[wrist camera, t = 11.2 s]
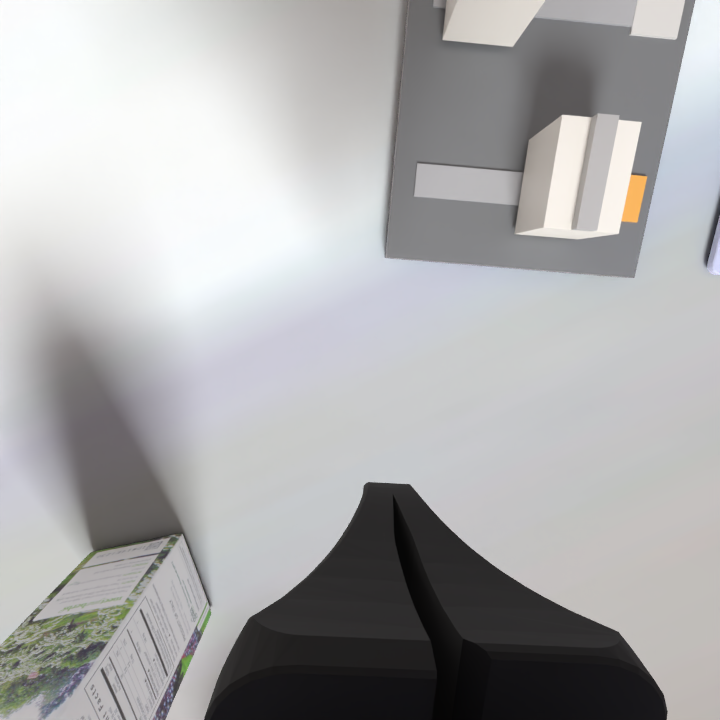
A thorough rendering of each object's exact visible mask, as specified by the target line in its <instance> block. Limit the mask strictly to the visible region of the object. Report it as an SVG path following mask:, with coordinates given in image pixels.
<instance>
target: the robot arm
mask: <svg viewBox="0 0 720 720" xmlns="http://www.w3.org/2000/svg"><path fill="white" fill-rule="evenodd" d="M707 268H708V271H709V272H710V273H711V274H715V275H720V216H719V220H718V224H717V228H716V232H715V236H714V240H713V244H712V248H711V252H710V255H709V259H708V263H707ZM204 720H667V707H666V703H665V699H664V695H663V693H662V691H661V690H660V688H659V687H658V685H657V684H656V682H655V680H654V679H653V678H652V676H651V675H650V673H649V672H648V671H647V669H646V668H645V666H644V665H643V664H642V662H641V661H640V659H639V658H638V657H637V655H636V654H635V653H634V651H633V650H632V649H631V647H630V646H629V645H628V643H627V642H626V641H625V639H624V638H623V637H622V636H621V635H620V633H619V632H617V631H615V630H613V629H611V628H608V627H606V626H604V625H601V624H599V623H597V622H595V621H592V620H590V619H588V618H586V617H583V616H581V615H579V614H576V613H574V612H572V611H570V610H568V609H566V608H564V607H562V606H560V605H558V604H556V603H554V602H552V601H550V600H549V599H547V598H545V597H543V596H541V595H539V594H537V593H536V592H534V591H532V590H530V589H529V588H527V587H525V586H524V585H522V584H521V583H519V582H517V581H516V580H514V579H513V578H511V577H510V576H508V575H506V574H505V573H503V572H502V571H500V570H499V569H498V568H496V567H495V566H493V565H492V564H491V563H489V562H488V561H487V560H485V559H484V558H483V557H482V556H480V555H479V554H478V553H476V552H475V551H474V550H473V549H471V548H470V547H469V546H468V545H467V544H465V543H464V542H463V541H462V540H461V539H460V538H459V537H458V536H457V535H456V534H455V533H454V532H452V531H451V530H450V529H449V528H448V527H447V526H446V525H445V524H444V523H443V522H442V521H441V520H440V519H439V517H438V516H437V515H436V514H435V513H434V512H433V511H432V510H431V509H430V508H429V506H428V505H427V504H426V503H425V502H424V501H423V499H422V498H421V497H420V496H419V495H418V493H417V492H416V491H415V490H414V489H413V488H412V486H411V485H410V484H392V483H373V482H368V483H366V484H365V485H364V490H363V495H362V498H361V501H360V504H359V506H358V508H357V510H356V512H355V514H354V516H353V518H352V520H351V522H350V524H349V525H348V527H347V528H346V530H345V532H344V533H343V535H342V537H341V538H340V539H339V541H338V542H337V544H336V545H335V546H334V548H333V549H332V550H331V551H330V553H329V554H328V555H327V556H326V557H325V559H324V560H323V561H322V562H321V563H320V564H319V565H318V566H317V567H316V568H315V569H314V570H313V571H312V572H311V573H310V574H309V575H308V576H307V577H306V578H305V579H304V580H303V581H302V582H300V583H299V584H298V585H297V586H296V587H294V588H293V589H292V590H291V591H290V592H288V593H287V594H286V595H285V596H283V597H282V598H281V599H279V600H278V601H276V602H274V603H273V604H271V605H270V606H268V607H267V608H265V609H263V610H262V611H260V612H259V613H257V614H255V615H253V616H252V617H250V618H249V620H248V621H247V623H246V625H245V626H244V628H243V630H242V631H241V633H240V635H239V637H238V638H237V640H236V642H235V644H234V646H233V648H232V650H231V652H230V654H229V656H228V658H227V660H226V662H225V664H224V666H223V668H222V671H221V673H220V675H219V678H218V680H217V683H216V686H215V689H214V692H213V695H212V698H211V701H210V703H209V706H208V709H207V712H206V715H205V719H204Z"/></svg>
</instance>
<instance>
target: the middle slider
mask: <svg viewBox="0 0 720 720" xmlns="http://www.w3.org/2000/svg"><path fill="white" fill-rule="evenodd" d="M544 2H545V0H447V1H446V11H445V20H444V29H443V39H442V40H447V41H457V42H467V43H478V44H488V45H498V46H509V47H513V46H514V44H515V43H516V42H517V40H518V39H519V37H520V36H521V34H522V33H523V32H524V30H525V29H526V27H527V26H528V25H529V23H530V22H531V20H532V19H533V17H534V16H535V15H536V13H537V12H538V10H539V9H540V8H541V6H542V5H543V3H544Z"/></svg>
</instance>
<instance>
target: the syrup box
mask: <svg viewBox="0 0 720 720" xmlns="http://www.w3.org/2000/svg"><path fill="white" fill-rule="evenodd" d="M210 610H211V609H210V606H209V604H208V601H207V598H206V595H205V592H204V590H203V587H202V584H201V581H200V579H199V576H198V573H197V571H196V568H195V565H194V562H193V560H192V557H191V555H190V552H189V549H188V547H187V544H186V542H185V539H184V536H183V534H181V533H180V534H175V535H170V536H165V537H161V538H156V539H151V540H147V541H142V542H137V543H132V544H128V545H123V546H118V547H113V548H108V549H102V550H98V551H94V552H92V553H90V554H89V555H88V556H87V557H86V558H85V559H84V560H83V561H82V562H81V563H80V564H79V565H78V566H77V567H76V568H75V569H74V570H73V571H72V572H71V573H70V574H69V575H68V576H67V577H66V579H65V580H63V581H62V582H61V584H60V585H59V586H58V587H57V588H56V589H55V590H54V591H53V592H52V593H51V594H50V595H49V596H48V597H47V598H46V599H45V600H44V601H43V602H42V603H41V604H40V605H39V606H38V607H37V608H36V610H35V611H34V612H33V613H32V614H31V615H30V616H29V617H28V618H27V619H26V620H25V621H24V622H23V623H22V624H21V625H20V626H19V627H18V628H17V629H16V630H15V631H14V632H13V633H12V634H11V635H10V636H9V637H8V638H7V639H6V640H5V641H4V642H3V643H2V644H1V645H0V720H165V719H166V717H167V714H168V712H169V709H170V707H171V705H172V702H173V700H174V698H175V695H176V693H177V691H178V689H179V686H180V684H181V682H182V680H183V677H184V675H185V673H186V671H187V669H188V666H189V664H190V661H191V659H192V657H193V655H194V652H195V650H196V648H197V645H198V643H199V641H200V639H201V636H202V634H203V632H204V629H205V627H206V625H207V623H208V620H209V618H210V616H211V611H210Z"/></svg>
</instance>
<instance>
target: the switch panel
mask: <svg viewBox="0 0 720 720" xmlns="http://www.w3.org/2000/svg"><path fill="white" fill-rule="evenodd" d="M446 1H447V0H408V7H407V18H406V29H405V40H404V51H403V62H402V74H401V85H400V96H399V107H398V118H397V129H396V140H395V152H394V163H393V174H392V185H391V196H390V207H389V218H388V230H387V241H386V252H385V258H392V259H404V260H417V261H429V262H441V263H453V264H465V265H477V266H490V267H502V268H514V269H526V270H538V271H550V272H563V273H575V274H587V275H599V276H611V277H628V278H634V277H635V272H636V268H637V263H638V258H639V254H640V249H641V245H642V240H643V236H644V231H645V227H646V222H647V217H648V213H649V208H650V204H651V199H652V195H653V190H654V186H655V181H656V176H657V172H658V167H659V163H660V158H661V154H662V149H663V145H664V140H665V135H666V131H667V126H668V122H669V117H670V113H671V108H672V103H673V99H674V94H675V90H676V85H677V81H678V76H679V72H680V67H681V62H682V58H683V53H684V49H685V44H686V40H687V35H688V31H689V26H690V21H691V17H692V12H693V8H694V3H695V0H545V2H544V3H543V5H542V6H541V8H540V9H539V10H538V12H537V13H536V15H535V16H534V17H533V19H532V20H531V22H530V23H529V25H528V26H527V27H526V29H525V30H524V32H523V33H522V34H521V36H520V37H519V39H518V40H517V42H516V43H515V44H514V46H513V47H509V46H498V45H488V44H478V43H467V42H457V41H447V40H442V39H443V29H444V20H445V11H446ZM598 113H600V114H610V115H620V116H619V120H625V121H636V122H642V124H641V128H640V133H639V138H638V143H637V148H636V153H635V157H634V162H633V167H632V172H631V177H630V182H629V186H628V191H627V196H626V201H625V206H624V211H623V215H622V220H621V225H620V230H619V234H614V235H607V236H599V237H592V238H585V239H567V238H555V237H544V236H532V235H520V234H514V233H515V227H516V220H517V214H518V207H519V201H520V194H521V188H522V181H523V175H524V168H525V162H526V155H527V149H528V142H529V139H531V138H532V137H533V136H535V135H536V134H537V133H539V132H540V131H541V130H543V129H544V128H545V127H547V126H548V125H549V124H551V123H552V122H553V121H555V120H556V119H557V118H559V117H560V116H561V115H571V116H582V117H593V116H595V115H596V114H598Z"/></svg>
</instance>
